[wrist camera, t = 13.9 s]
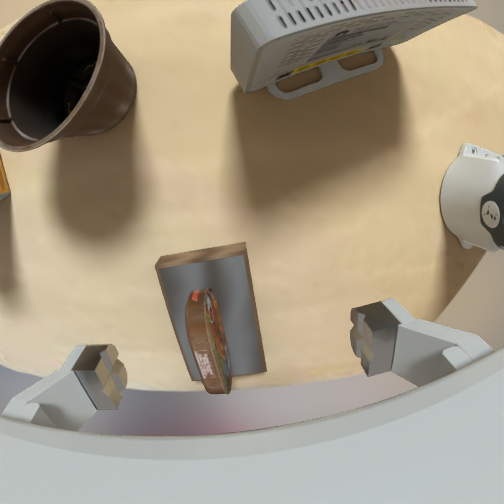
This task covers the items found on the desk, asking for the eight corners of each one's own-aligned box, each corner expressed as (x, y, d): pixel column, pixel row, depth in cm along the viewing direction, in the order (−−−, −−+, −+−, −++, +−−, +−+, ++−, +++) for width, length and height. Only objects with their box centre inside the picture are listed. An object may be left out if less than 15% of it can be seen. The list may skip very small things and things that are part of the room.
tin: (233, 366, 43) (234, 406, 35) (212, 368, 43) (210, 409, 35) (212, 276, 38) (207, 308, 30) (188, 279, 38) (178, 312, 30)
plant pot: (39, 84, 30) (-29, 68, 15) (127, 22, 29) (81, -30, 14) (74, 170, 36) (2, 184, 20) (169, 108, 34) (130, 81, 19)
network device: (377, 14, 31) (452, -40, 12) (404, 62, 33) (494, 29, 15) (222, 62, 33) (217, -15, 14) (252, 116, 36) (275, 79, 17)
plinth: (245, 242, 41) (246, 251, 37) (264, 357, 47) (267, 373, 43) (160, 256, 41) (154, 266, 37) (193, 367, 47) (191, 382, 43)
